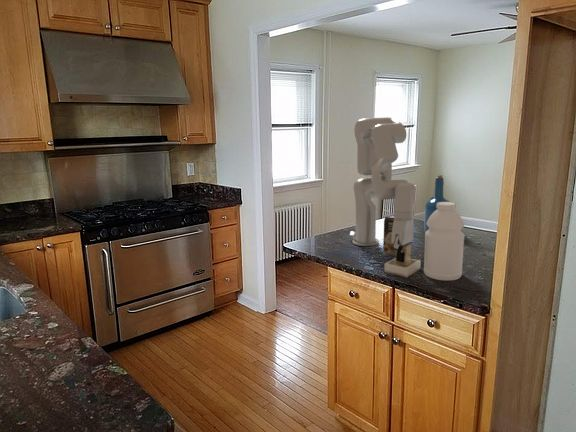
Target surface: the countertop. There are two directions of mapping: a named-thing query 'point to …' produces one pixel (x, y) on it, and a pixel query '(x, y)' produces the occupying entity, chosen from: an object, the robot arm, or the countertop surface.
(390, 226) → the coffee box
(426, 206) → the wine bottle
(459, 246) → the bottle
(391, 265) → the white square tray
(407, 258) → the tan rounded cylinder
